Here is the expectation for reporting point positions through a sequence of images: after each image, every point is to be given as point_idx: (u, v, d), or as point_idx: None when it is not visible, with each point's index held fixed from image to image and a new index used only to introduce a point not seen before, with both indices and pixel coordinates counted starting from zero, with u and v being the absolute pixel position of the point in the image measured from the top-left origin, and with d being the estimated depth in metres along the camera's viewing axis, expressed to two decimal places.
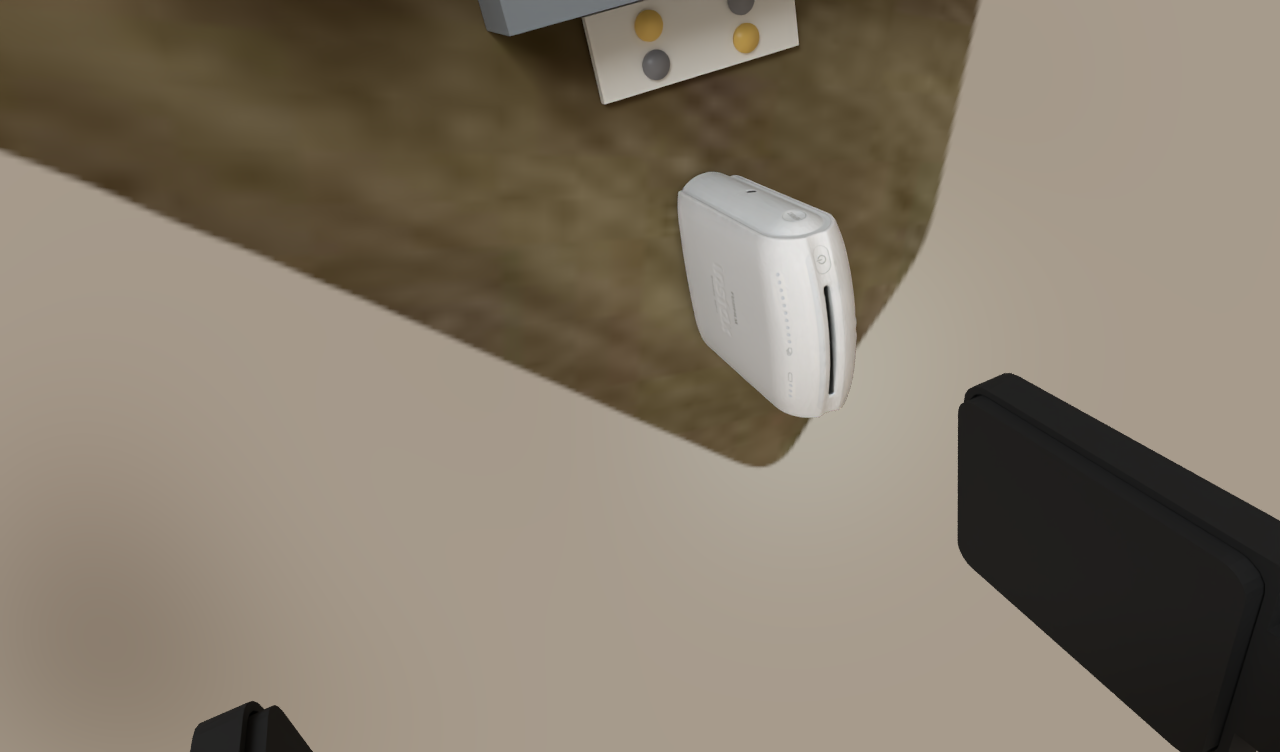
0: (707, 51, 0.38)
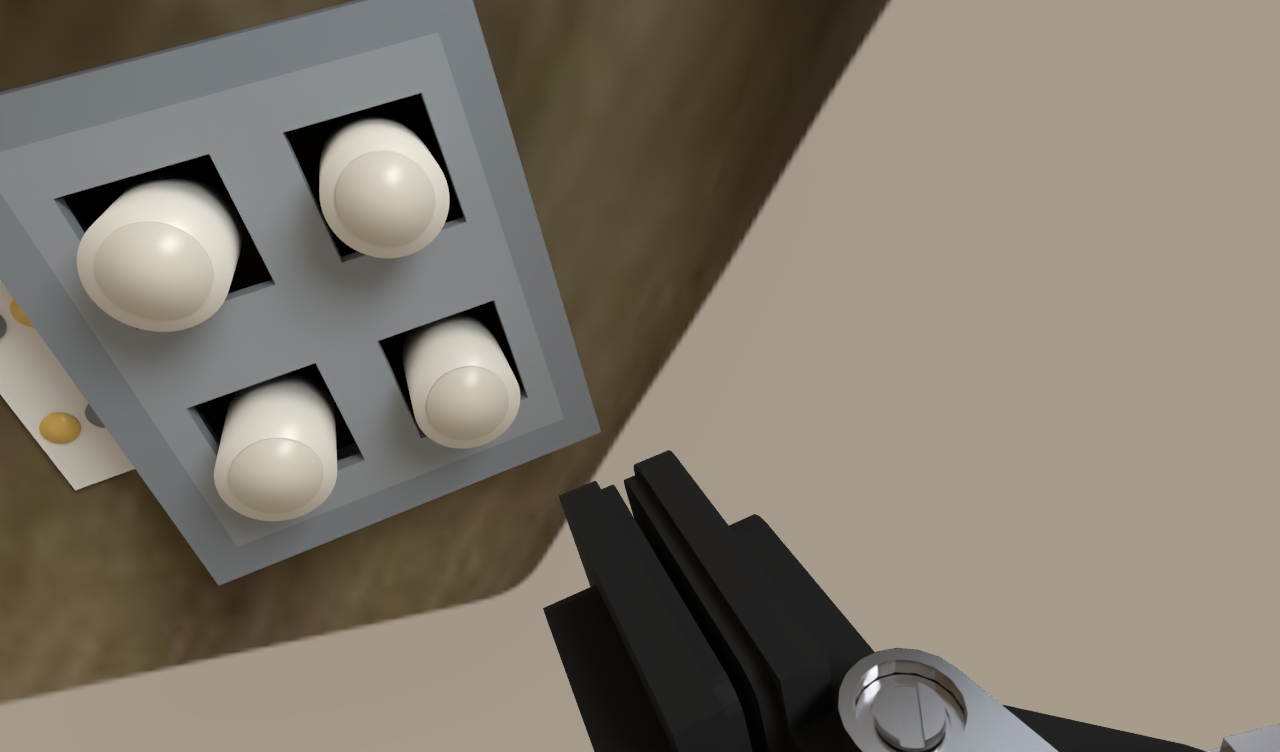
0: (27, 385, 0.31)
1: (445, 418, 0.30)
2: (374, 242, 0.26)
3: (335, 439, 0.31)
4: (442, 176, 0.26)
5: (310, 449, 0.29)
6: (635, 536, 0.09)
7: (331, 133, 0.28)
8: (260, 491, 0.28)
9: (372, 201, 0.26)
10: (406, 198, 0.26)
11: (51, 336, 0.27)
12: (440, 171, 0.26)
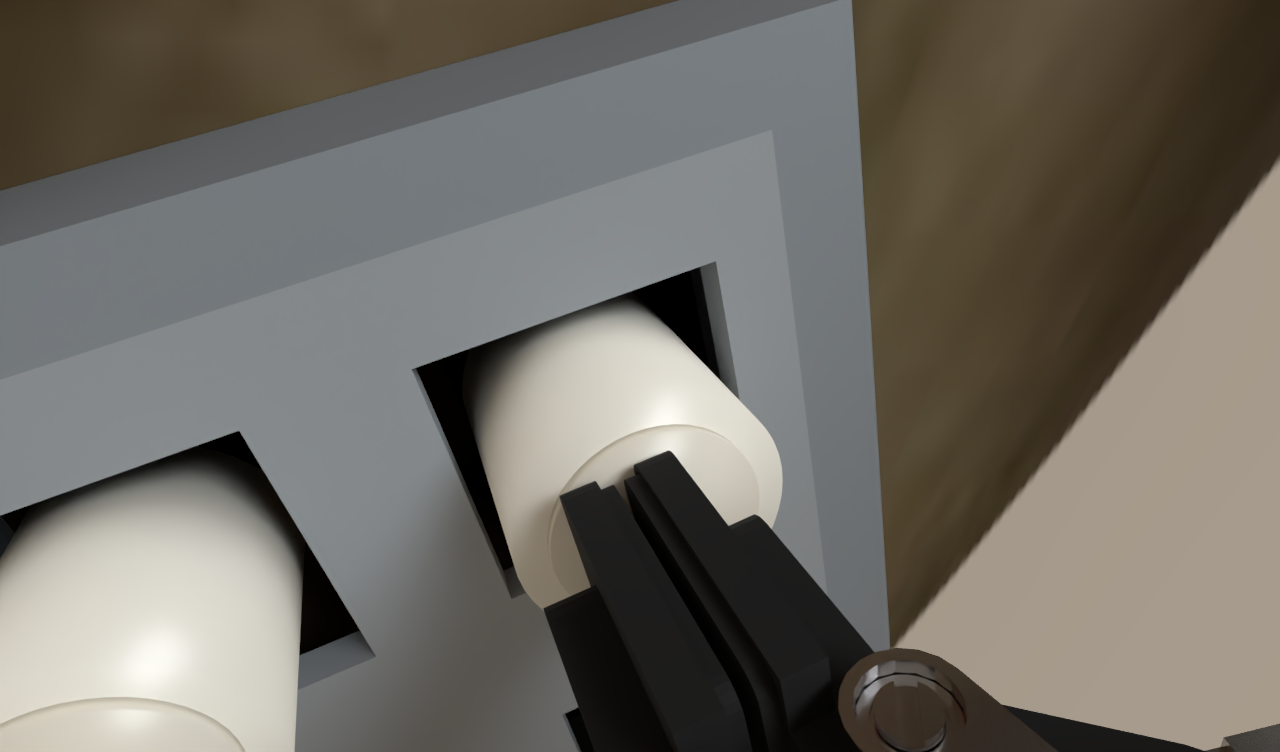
0: None
1: None
2: None
3: None
4: (775, 460, 0.11)
5: None
6: (635, 536, 0.09)
7: None
8: None
9: None
10: None
11: None
12: (773, 451, 0.11)
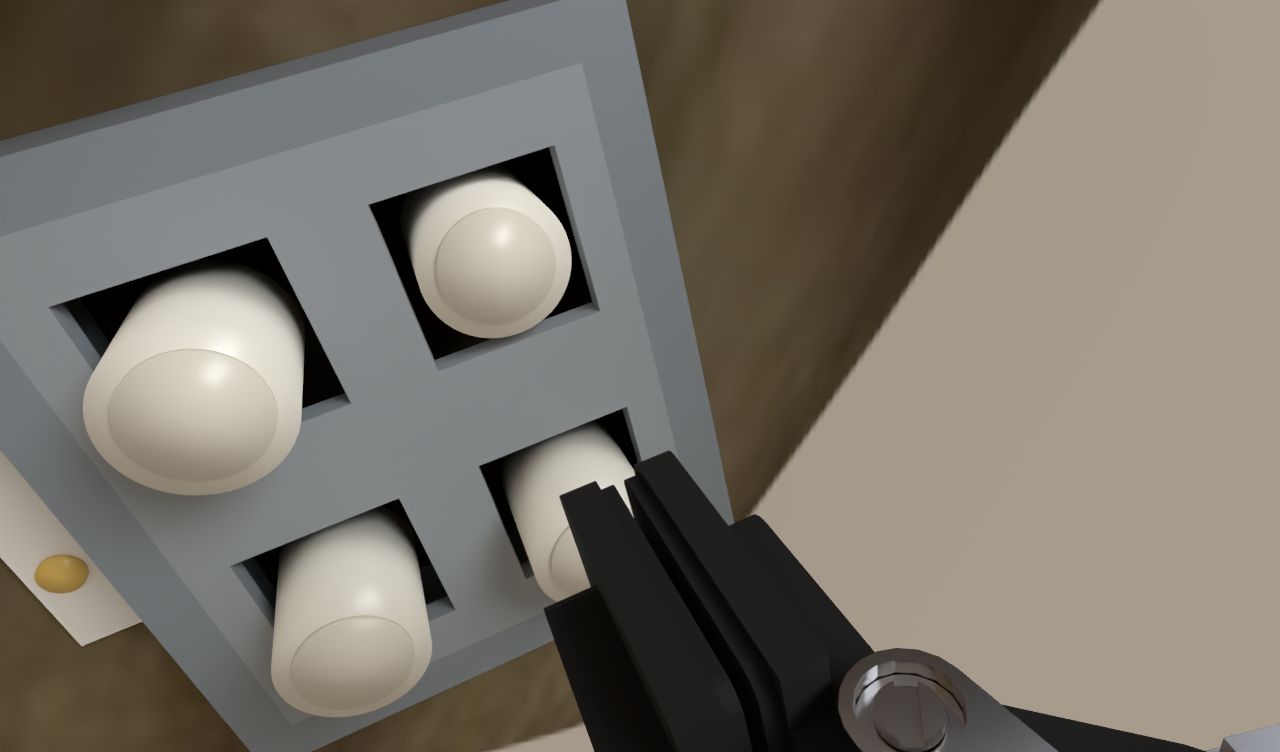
0: (17, 525, 0.24)
1: (574, 574, 0.22)
2: (479, 320, 0.21)
3: None
4: (564, 237, 0.21)
5: (399, 626, 0.21)
6: (635, 536, 0.09)
7: None
8: (332, 685, 0.21)
9: (479, 271, 0.20)
10: (522, 265, 0.21)
11: (47, 489, 0.19)
12: (562, 231, 0.21)
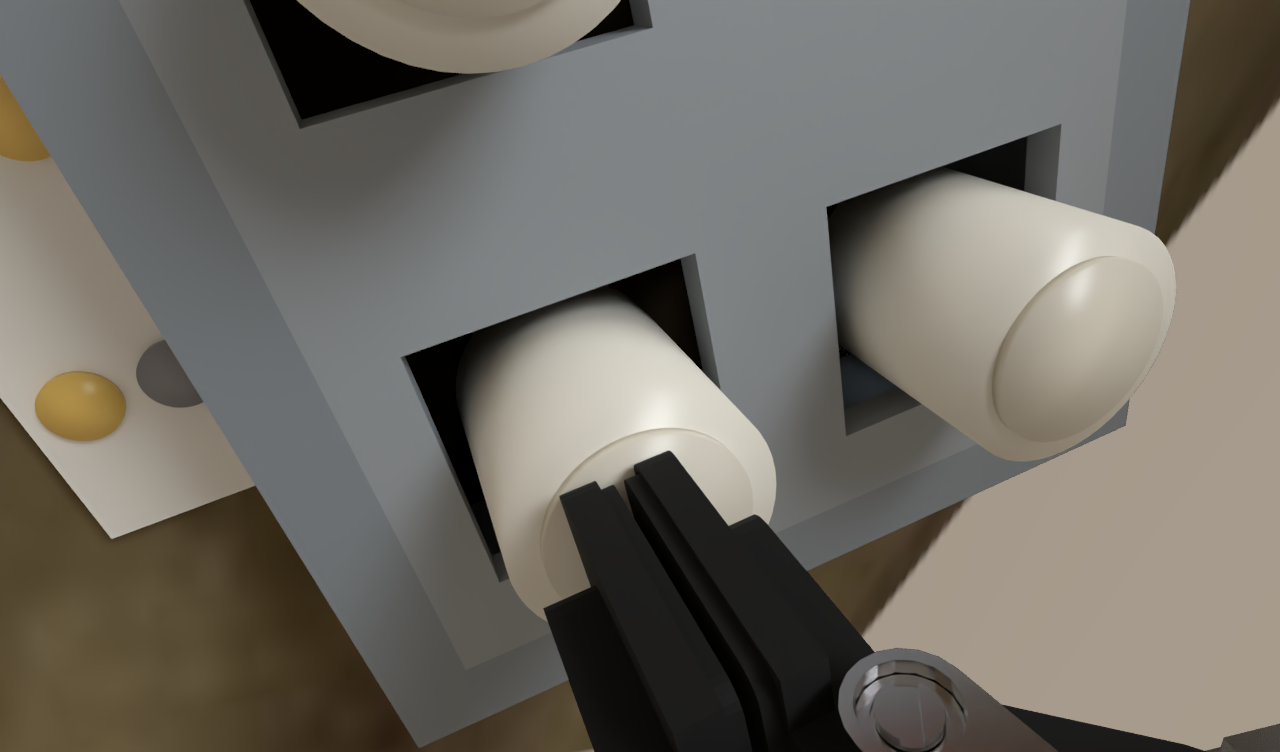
0: (6, 307, 0.13)
1: (1030, 388, 0.12)
2: None
3: None
4: None
5: (736, 459, 0.11)
6: (635, 536, 0.09)
7: None
8: None
9: None
10: None
11: (62, 128, 0.09)
12: None
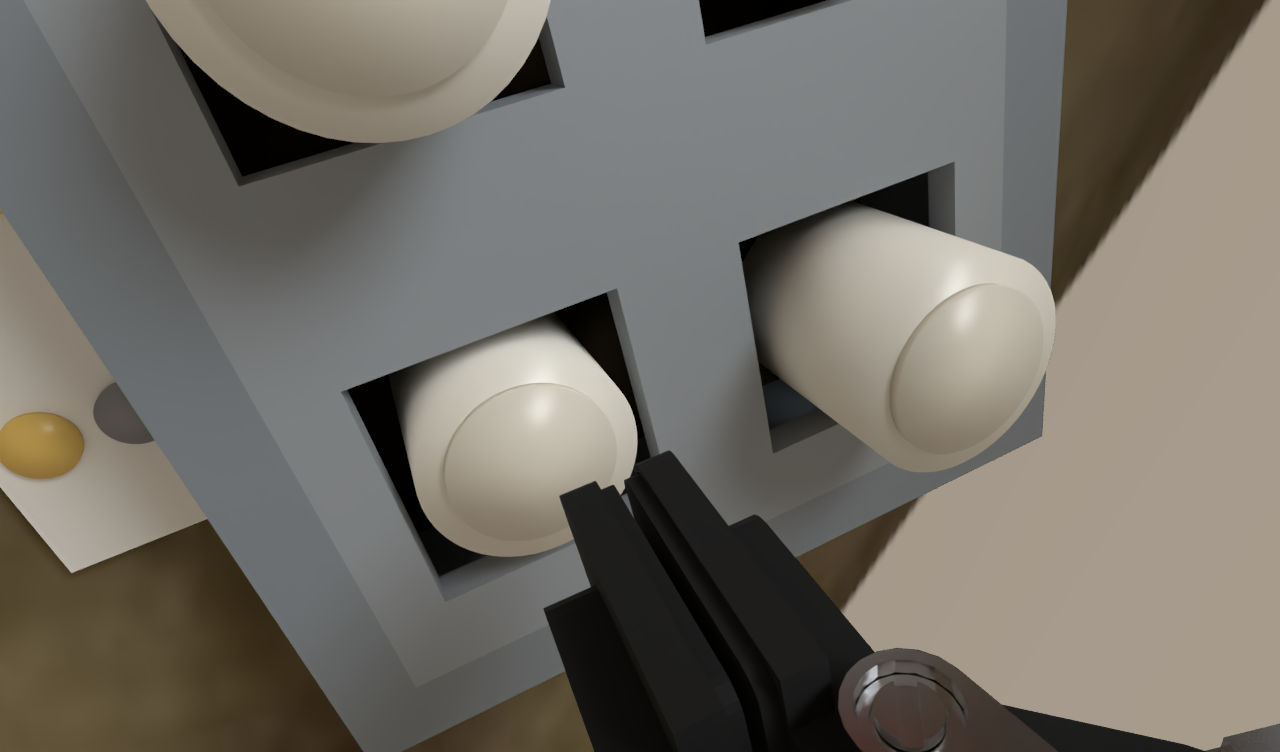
0: None
1: (924, 405, 0.13)
2: None
3: None
4: None
5: (600, 409, 0.14)
6: (635, 536, 0.09)
7: None
8: (500, 496, 0.14)
9: None
10: None
11: (16, 192, 0.10)
12: None
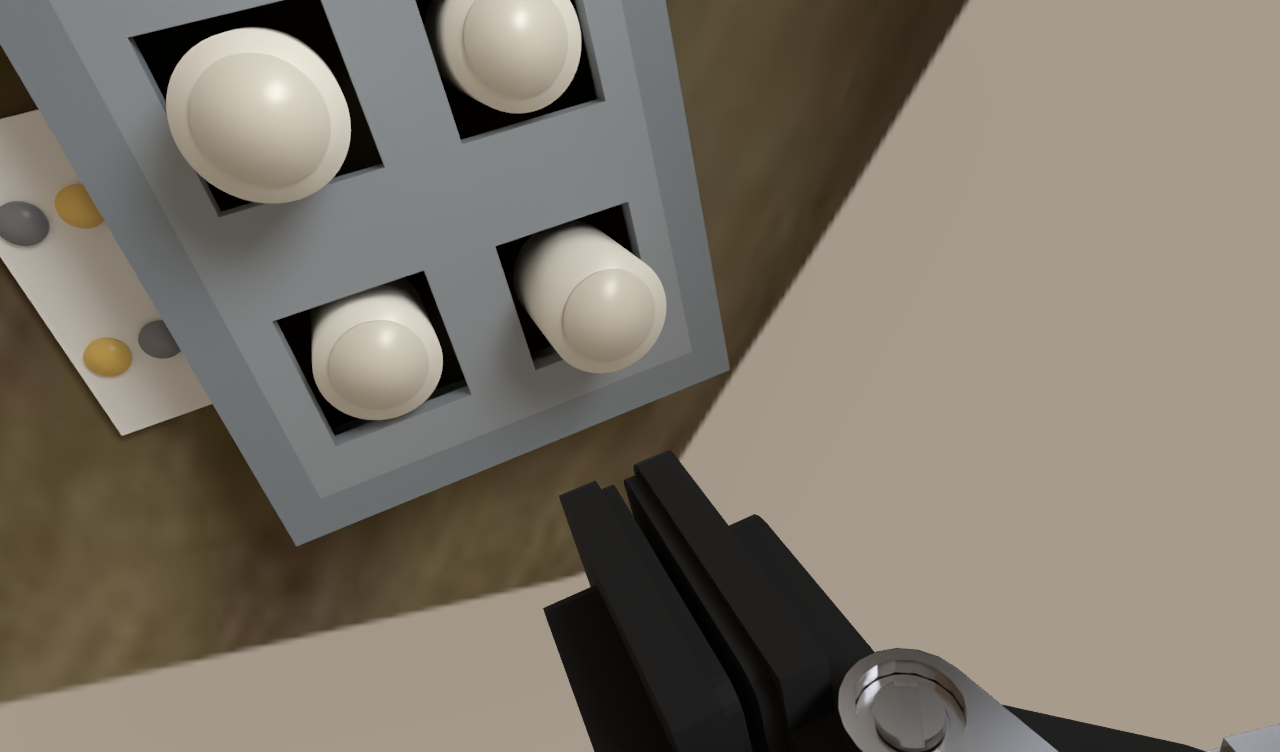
0: (70, 302, 0.26)
1: (583, 333, 0.25)
2: (500, 92, 0.24)
3: None
4: (575, 19, 0.24)
5: (417, 336, 0.26)
6: (635, 536, 0.09)
7: None
8: (361, 382, 0.26)
9: (501, 42, 0.23)
10: (538, 41, 0.23)
11: (116, 220, 0.22)
12: (574, 13, 0.24)
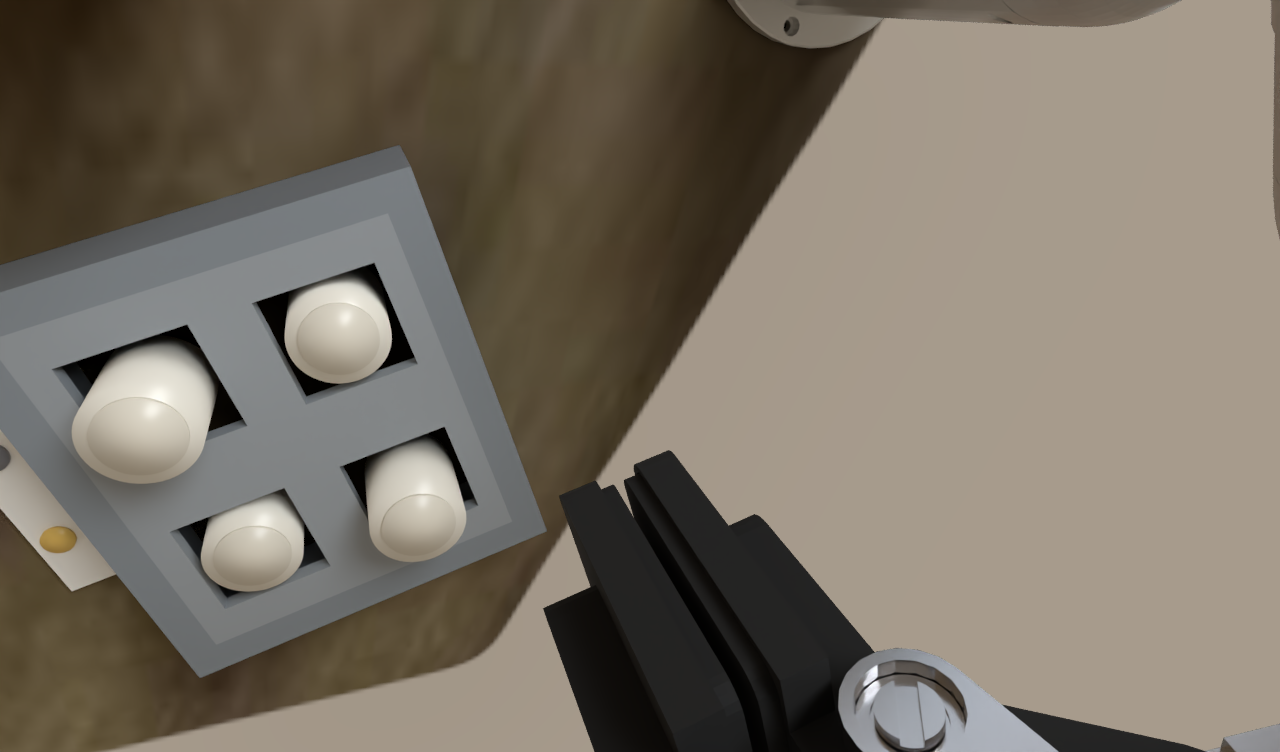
0: (28, 505, 0.35)
1: (398, 538, 0.34)
2: (330, 372, 0.32)
3: (303, 520, 0.37)
4: (385, 318, 0.32)
5: (281, 534, 0.35)
6: (635, 536, 0.09)
7: None
8: (239, 568, 0.35)
9: (327, 342, 0.32)
10: (356, 337, 0.32)
11: (50, 480, 0.31)
12: (383, 315, 0.32)
